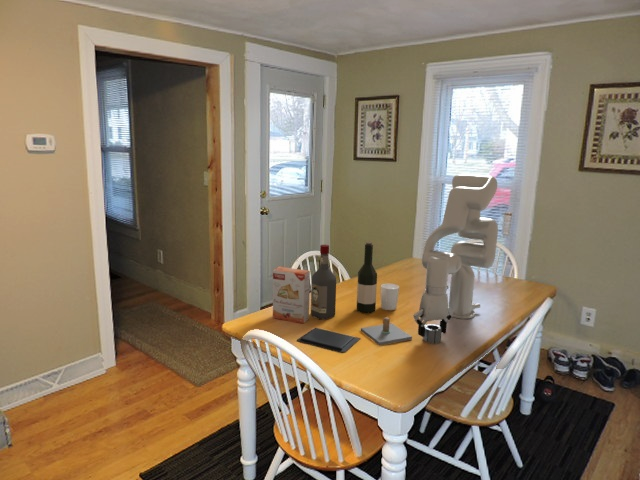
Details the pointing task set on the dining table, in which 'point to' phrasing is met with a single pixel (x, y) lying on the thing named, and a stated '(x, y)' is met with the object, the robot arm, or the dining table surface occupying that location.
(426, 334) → the collar
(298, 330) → the dining table surface
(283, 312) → the cracker box
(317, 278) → the liquor
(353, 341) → the wallet
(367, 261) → the wine bottle
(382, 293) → the white cup
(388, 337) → the post base
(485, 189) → the robot arm
